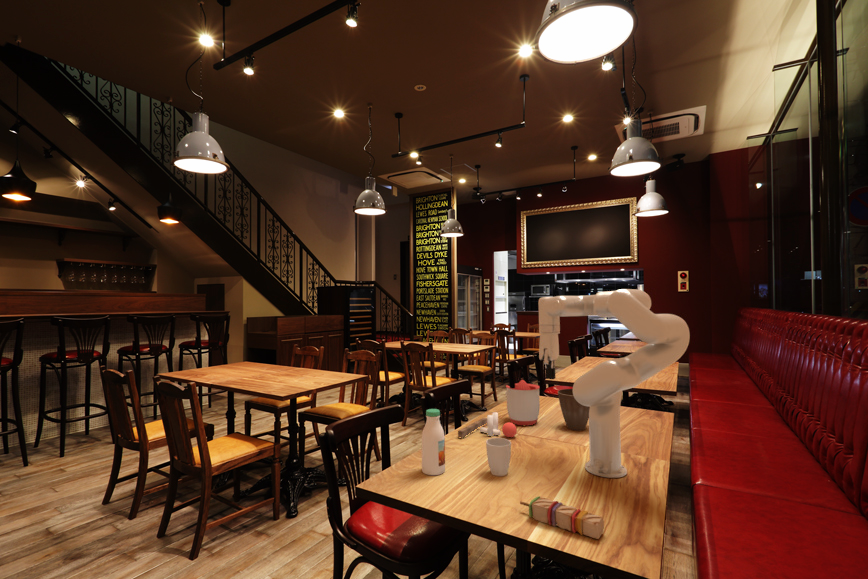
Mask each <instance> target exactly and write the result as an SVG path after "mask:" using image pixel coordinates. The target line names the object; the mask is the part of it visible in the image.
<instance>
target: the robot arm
mask: <svg viewBox="0 0 868 579" xmlns="http://www.w3.org/2000/svg"><path fill="white" fill-rule="evenodd" d="M651 307H652V299H651V297H650V295H649V294H648V293H646V292H645V291H643V290H642V289H638V288H636V289H632V288H621V289H617V290H611V291H610V290H609V291H608V290H607V291H598V292H596V294H590V295H588V294H587V295H556V296H542V297H540V298H539V299H538V334H539V342H538V343H539V344H538V345H539V346H538V347H539V349H538V350H539V351H538V352H539V353H538V354H539V355H538V358H539V360H540V361H543V364H544V365H545V366H544V367H545V379H546V380H555V379H556V362H557V359H559V357H560V344H559V334H561V332H560V331H561V324H560V322H561V320H560V317H588V316H589V317H591V316H595V317H596V316H597V317H600V318H615V319H616V320H617V321H619V323H620V324H622V325H623V327H625V328H626V329H627V330H628V331H629V332H630V333H631V334H633V335H634V336H635V337H636V338H637V339H639V340H640V341H642V342H643V343H645V345H643V346H641V347H639V348H638V349H637V350H636V351H634V352H632V353H630V354H629V355H626V356H624V357H619V358H614V359H608V360H605V361H602V362H600V363H598V364H597V365H595V366H594V367H593V368H591V369H590V370H588V371H587V372H585V373H583V374H582V375H580V377H578V378H577V379H576V380H575V382H574V383H573V385H572V389H573V396H574V398H575V399H576V401H577V402H578V403H580V404H581V405H584V406H590V409H589V419H588V437H589V440H588V441H589V461H587V462H585V464H584V467H585V468H584V469H585V470H586V471H587V472H588V473H590V474H592V475H595V476H599V477H602V478H609V479H610V478H611V479H616V478H623V477H625V476H627V473H628V470H627V468H626V467H625V466H624V465H623V464H622V450H621V448H622V447H621V446H622V445H621V441H622V440H621V402H622V398H623V397H622V396H623V391H626V390H629V389H632V388H633V389H634V388H636V387H637V386H640V385H641V384H642V383H643V382H645V381H647V380H649V379H650V378H652V377H655V375H657V374H658V373H660V372H662V371H664V370H665V369H667V368H669V367H670V366H671V365H673V364H674V363H676V362H678V360H679V359H681V357H682V356H683V355H684V354H685V352H686V351H687V349H688V346H689V344H690V336H691V335H690V334H691V333H690V328H689V325H688V324H687V322H686V320H684V319H683V318H682V317H680V316H678V315H676V314H673V313H654V312H653V311H652V310H650V309H651Z"/></svg>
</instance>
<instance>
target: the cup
mask: <svg viewBox="0 0 868 579" xmlns="http://www.w3.org/2000/svg"><path fill="white" fill-rule="evenodd" d="M485 446H486V456H487V462H488V467H489V469H490V473H491V475H492V476H497V477H504V476H507V474H508V472H509V469H510V462H511V454H512V452H511V451H512V441H511V440H510V439H508V438H503V437H490V438H489V439H486V441H485Z"/></svg>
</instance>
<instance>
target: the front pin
mask: <svg viewBox="0 0 868 579" xmlns="http://www.w3.org/2000/svg"><path fill="white" fill-rule="evenodd" d="M480 432H484V433H487V427H481V428H480V429H479V433H480ZM484 433H483V434H484ZM493 434H494V435H493V436H496V435H500V436H501V430H500V429H498V430H496V429H493Z"/></svg>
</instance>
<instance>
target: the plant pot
mask: <svg viewBox="0 0 868 579" xmlns="http://www.w3.org/2000/svg"><path fill="white" fill-rule="evenodd" d="M557 394H558V395H557V396H558V401H559V405H560V409H561V414H562V416H563V419H564V422H565V424H566V427H567V429H568V430H570V429H571V431H575V430H576V432H577V431H579V432H580V431H581V432H582V431H584V430H586V427H587V425H588V423H589V409H590V406H584V405H581V404H580V403H578V402H577V401H576V399H575V398H574V396H573V388H564V389H563V388H562V389H559V390H557Z"/></svg>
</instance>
